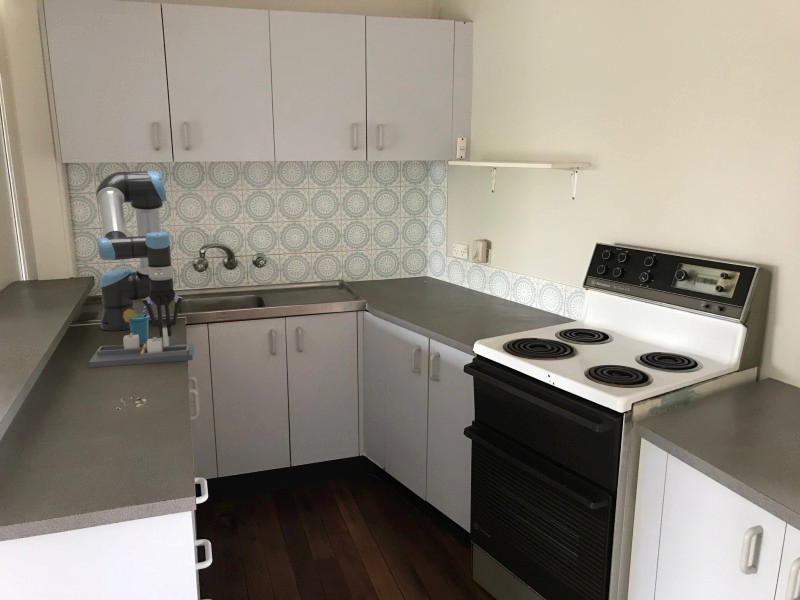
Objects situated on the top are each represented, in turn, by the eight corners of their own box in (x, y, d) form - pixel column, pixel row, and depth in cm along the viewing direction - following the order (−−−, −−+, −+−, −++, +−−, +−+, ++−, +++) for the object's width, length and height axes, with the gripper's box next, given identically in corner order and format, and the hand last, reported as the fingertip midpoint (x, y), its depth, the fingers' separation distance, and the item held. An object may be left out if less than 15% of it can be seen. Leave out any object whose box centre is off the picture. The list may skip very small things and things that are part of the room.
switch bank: (97, 355, 238) (96, 346, 237) (194, 348, 245) (193, 339, 244) (89, 367, 224) (88, 357, 224) (192, 360, 232) (191, 350, 231)
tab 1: (126, 349, 238) (124, 333, 237) (139, 348, 239) (138, 332, 238) (124, 352, 234) (122, 336, 233) (138, 351, 235) (136, 335, 234)
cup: (147, 337, 261) (144, 299, 258) (163, 339, 258) (160, 301, 255) (120, 347, 248) (116, 307, 245) (136, 349, 245) (133, 309, 242)
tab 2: (149, 352, 234) (148, 337, 232) (163, 351, 235) (161, 336, 233) (148, 356, 229) (146, 340, 228) (161, 355, 230) (160, 339, 229)
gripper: (138, 281, 222) (145, 349, 227) (180, 279, 225) (185, 347, 230) (142, 277, 229) (148, 343, 234) (181, 275, 232) (187, 341, 237)
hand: (166, 345), depth 232 cm, fingers closed
